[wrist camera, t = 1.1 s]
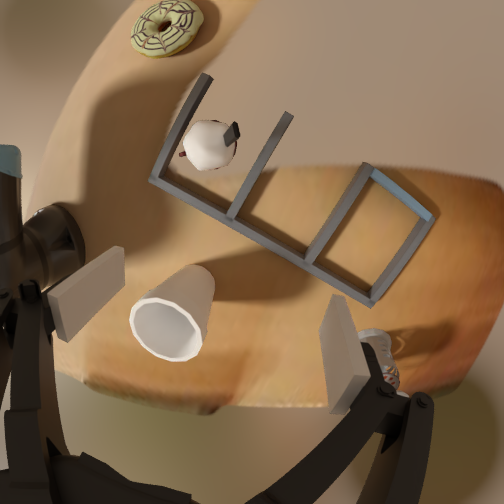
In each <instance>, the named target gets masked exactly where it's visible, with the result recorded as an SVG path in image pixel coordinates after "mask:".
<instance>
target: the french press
mask: <svg viewBox="0 0 504 504" xmlns="http://www.w3.org/2000/svg"><path fill="white" fill-rule="evenodd" d="M357 334H358V337H359V340H360V342H366V343H369V344H370V345H371V346H372V348H373V349H374V351H375V354H376V358H377V359H378V363H379V365H380V368H381V370H382V373H383V376H384V379H385V381H386V382H388V383H390V384H391V385H392V386H394V388H395V389H396V392H397V394H398V395H401V396H405V397H408V398H409V395H407V394H406V393H404V392H402V391H398V390H397V389H398V387H399V384H400V381H399V372H398V369H397V367H396V364H395V363H394V359H393V360H392V355H390V353H391V352H390V349H391V344H392V341H391V338H390V335H388V334H387V333H386V332H385V331H384V330H380V329H375V328H373V329H366V330H362V331H360V332H358V333H357ZM390 356H391V358H390ZM389 366H392V367H391V368H390V369H389V370H387V371H386V368H388V367H389ZM393 368H395V370H394V372H393V373H390V372H391V371H392V369H393ZM396 369H397V376H396V375H394V374H395V373H396Z"/></svg>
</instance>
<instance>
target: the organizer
mask: <svg viewBox="0 0 504 504" xmlns="http://www.w3.org/2000/svg"><path fill="white" fill-rule="evenodd" d="M213 80H214V79H213V78H212V77H211V76H210V75H207V74H205V73H202V74H201V75H200V77H199V79H198V80H197V82H196V84H195V86H194V87H193V89H192V91H191V93H190V94H189V96H188V98H187V100H186V102H185V103H184V105H183V107H182V109H181V111H180V113H179V115H178V117H177V119H176V121H175V123H174V125H173V127H172V129H171V131H170V133H169V135H168V137H167V139H166V141H165V143H164V145H163V147H162V149H161V152H160V154H159V156H158V158H157V160H156V163H155V165H154V167H153V170H152V172H151V174H150V177H149V179H148V182H150V183H152V184H153V185H155V186H157V187H159V188H161V189H162V190H164V191H166V192H168V193H170V194H171V195H173V196H175V197H177V198H179V199H180V200H182V201H184V202H186V203H188V204H189V205H191V206H193V207H195V208H196V209H198V210H200V211H202V212H204V213H205V214H207V215H209V216H211V217H212V218H214V219H216V220H218V221H220V222H221V223H223V224H225V225H227V226H228V227H230V228H232V229H234V230H235V231H237V232H239V233H241V234H243V235H244V236H246V237H248V238H250V239H251V240H253V241H255V242H257V243H258V244H260V245H262V246H264V247H265V248H267V249H269V250H271V251H272V252H274V253H276V254H278V255H279V256H281V257H283V258H285V259H286V260H288V261H290V262H291V263H293V264H295V265H297V266H298V267H300V268H302V269H304V270H305V271H307V272H309V273H311V274H312V275H314V276H316V277H317V278H319V279H321V280H323V281H324V282H326V283H328V284H329V285H331V286H333V287H335V288H336V289H338V290H340V291H341V292H343V293H345V294H347V295H348V296H350V297H352V298H353V299H355V300H357V301H359V302H360V303H362V304H364V305H365V306H367V307H369V308H370V309H371V308H372V307H373V306H374V304H375V303H376V302H377V301H378V299H379V298H380V297H381V296H382V294H383V293H384V292H385V291H386V289H387V288H388V287H389V286H390V284H391V283H392V282H393V280H394V279H395V278H396V276H397V275H398V274H399V272H400V271H401V270H402V268H403V267H404V266H405V264H406V263H407V261H408V260H409V259H410V257H411V256H412V254H413V253H414V251H415V250H416V248H417V247H418V246H419V244H420V243H421V241H422V240H423V238H424V237H425V235H426V233H427V232H428V230H429V229H430V227H431V226H432V224H433V223H434V221H435V219H436V218H435V217H434V216H433V215H432V214H431V213H430V212H429V211H428V210H427V209H425V208H424V207H423V206H422V205H421V204H420V203H419V202H417V201H416V200H415V199H414V198H413V197H412V196H410V195H409V194H408V193H407V192H406V191H404V190H403V189H402V188H401V187H399V186H398V185H397V184H396V183H394V182H393V181H392V180H391V179H389V178H388V177H387V176H385V175H384V174H383V173H381V172H380V171H379V170H377V169H376V168H374V167H373V166H371V165H370V164H368V163H366V162H363V163H362V165H361V166H360V168H359V169H358V171H357V173H356V174H355V176H354V178H353V179H352V181H351V182H350V184H349V186H348V187H347V189H346V190H345V192H344V194H343V195H342V197H341V198H340V200H339V201H338V203H337V205H336V206H335V208H334V209H333V211H332V212H331V214H330V215H329V217H328V219H327V220H326V222H325V223H324V225H323V226H322V228H321V229H320V231H319V232H318V234H317V235H316V237H315V238H314V240H313V241H312V243H311V244H310V246H309V247H308V249H307V250H306V252H305V253H304V255H303V254H301V253H300V252H298V251H296V250H295V249H293V248H291V247H289V246H288V245H286V244H284V243H283V242H281V241H279V240H277V239H276V238H274V237H272V236H271V235H269V234H267V233H265V232H264V231H262V230H260V229H258V228H257V227H255V226H253V225H251V224H250V223H248V222H246V221H244V220H243V219H241V218H239V217H237V214H238V212H239V210H240V209H241V207H242V205H243V203H244V201H245V200H246V198H247V196H248V194H249V193H250V191H251V189H252V187H253V186H254V184H255V182H256V180H257V179H258V177H259V175H260V173H261V172H262V170H263V168H264V167H265V165H266V163H267V161H268V160H269V158H270V156H271V155H272V153H273V151H274V149H275V148H276V146H277V144H278V143H279V141H280V139H281V138H282V136H283V134H284V133H285V131H286V129H287V128H288V126H289V124H290V123H291V121H292V119H293V117H294V116H293V115H291V114H289V113H288V112H286V111H285V113H284V114H283V116H282V117H281V119H280V121H279V122H278V124H277V126H276V127H275V129H274V131H273V132H272V134H271V136H270V137H269V139H268V141H267V143H266V145H265V146H264V148H263V150H262V151H261V153H260V155H259V156H258V158H257V160H256V162H255V163H254V165H253V167H252V169H251V170H250V172H249V174H248V176H247V177H246V179H245V181H244V183H243V184H242V186H241V188H240V190H239V192H238V193H237V195H236V197H235V199H234V201H233V203H232V204H231V206H230V208H229V210H228V211H227V210H225V209H223V208H221V207H220V206H218V205H216V204H214V203H212V202H211V201H209V200H207V199H205V198H203V197H202V196H200V195H198V194H196V193H194V192H192V191H191V190H189V189H187V188H185V187H183V186H182V185H180V184H178V183H176V182H174V181H172V180H170V179H169V178H167V177H165V176H164V174H165V172H166V170H167V167H168V165H169V163H170V161H171V159H172V157H173V154H174V152H175V150H176V148H177V146H178V144H179V142H180V140H181V138H182V136H183V134H184V132H185V130H186V128H187V126H188V124H189V122H190V120H191V119H192V117H193V115H194V113H195V111H196V109H197V108H198V106H199V104H200V102H201V100H202V99H203V97H204V95H205V93H206V92H207V90H208V88H209V86H210V85H211V83H212V81H213ZM369 177H370V178H371V179H373V180H374V181H376V182H377V183H378V184H380V185H381V186H382V187H384V188H385V189H386V190H388V191H389V192H390V193H391V194H393V195H394V196H395V197H396V198H398V199H399V200H400V201H401V202H403V203H404V204H405V205H406V206H408V207H409V208H410V209H411V210H412V211H414V212H415V213H416V214H417V215H418V216H420V219H419V221H418V222H417V224H416V225H415V227H414V228H413V230H412V231H411V233H410V234H409V236H408V237H407V239H406V240H405V242H404V243H403V245H402V246H401V248H400V249H399V251H398V252H397V253H396V255H395V256H394V258H393V259H392V260H391V262H390V263H389V265H388V266H387V267H386V269H385V270H384V271H383V273H382V274H381V275H380V277H379V278H378V279H377V281H376V282H375V283H374V285H373V286H372V287H371V288H370V290H369V291H368V292H367V293H366V292H365V291H363V290H361V289H360V288H358V287H356V286H355V285H353V284H352V283H350V282H348V281H347V280H345V279H343V278H342V277H340V276H338V275H337V274H335V273H333V272H332V271H330V270H328V269H327V268H325V267H323V266H322V265H320V264H318V263H317V262H315V261H314V260H315V259H316V257H317V256H318V255H319V253H320V252H321V250H322V249H323V247H324V246H325V244H326V243H327V241H328V240H329V238H330V237H331V235H332V234H333V232H334V231H335V229H336V228H337V226H338V225H339V223H340V222H341V220H342V219H343V217H344V216H345V214H346V213H347V211H348V210H349V208H350V207H351V205H352V204H353V202H354V200H355V199H356V197H357V196H358V194H359V192H360V191H361V189H362V188H363V186H364V185H365V183H366V181H367V180H368V178H369Z"/></svg>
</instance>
